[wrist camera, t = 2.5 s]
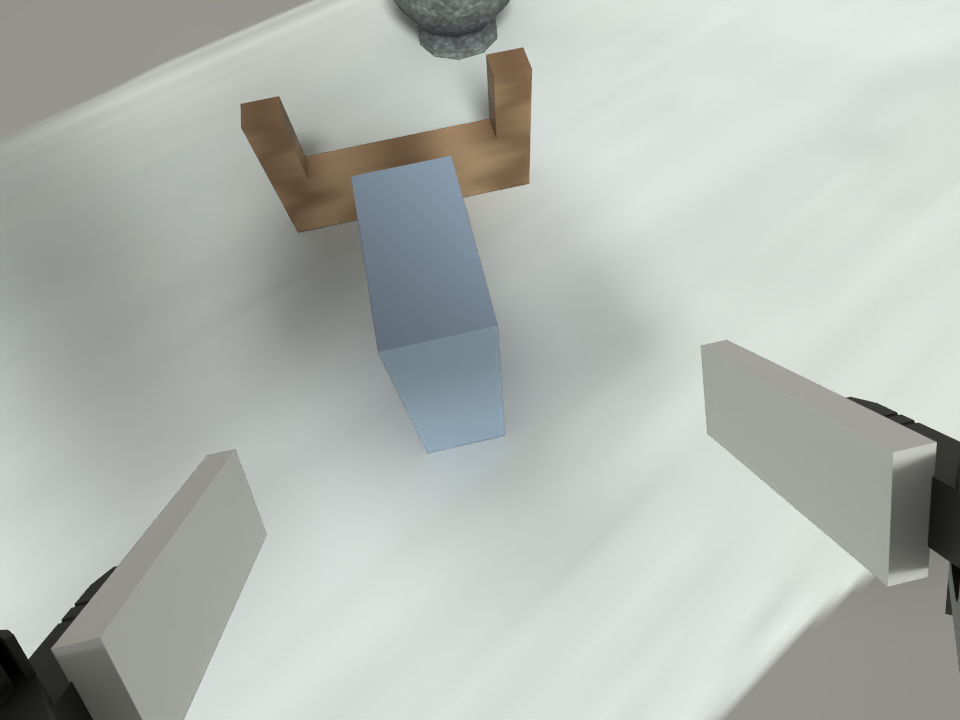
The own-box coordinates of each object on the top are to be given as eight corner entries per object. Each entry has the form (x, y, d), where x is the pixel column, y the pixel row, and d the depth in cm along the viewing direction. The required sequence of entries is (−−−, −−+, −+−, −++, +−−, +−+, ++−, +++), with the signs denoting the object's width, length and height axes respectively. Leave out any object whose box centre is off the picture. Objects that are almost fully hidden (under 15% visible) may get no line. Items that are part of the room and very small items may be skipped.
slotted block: (427, 453, 28) (378, 352, 18) (403, 320, 31) (351, 176, 22) (504, 435, 28) (497, 325, 18) (471, 305, 32) (451, 155, 22)
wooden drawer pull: (297, 232, 35) (241, 127, 28) (296, 211, 36) (240, 103, 29) (529, 183, 35) (531, 68, 28) (522, 163, 36) (523, 47, 29)
